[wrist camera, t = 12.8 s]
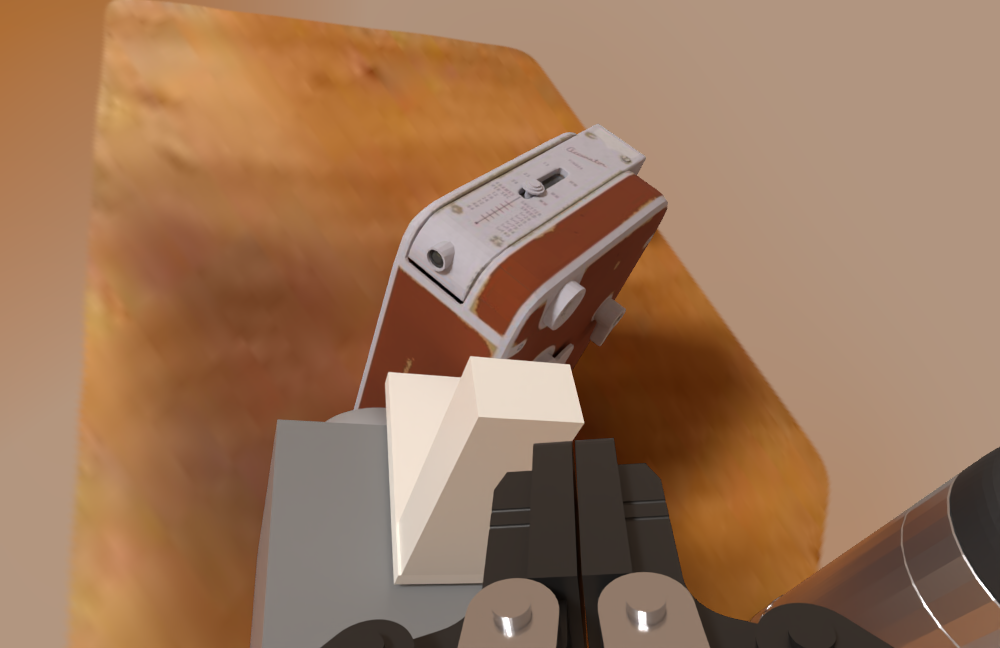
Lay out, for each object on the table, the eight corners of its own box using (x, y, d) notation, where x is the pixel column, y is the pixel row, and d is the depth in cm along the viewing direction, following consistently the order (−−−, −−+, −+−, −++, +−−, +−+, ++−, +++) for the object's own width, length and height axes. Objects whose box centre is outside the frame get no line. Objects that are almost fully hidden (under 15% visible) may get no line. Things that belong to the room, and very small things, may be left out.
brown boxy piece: (602, 379, 55) (743, 166, 41) (433, 550, 42) (553, 323, 28) (510, 305, 58) (613, 79, 44) (322, 445, 45) (383, 187, 31)
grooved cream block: (344, 513, 41) (444, 192, 25) (461, 515, 43) (625, 220, 27) (344, 687, 35) (475, 416, 19) (480, 679, 37) (701, 429, 21)
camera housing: (261, 496, 41) (282, 352, 32) (436, 500, 44) (499, 369, 35) (226, 948, 29) (243, 922, 20) (472, 909, 32) (585, 871, 23)
